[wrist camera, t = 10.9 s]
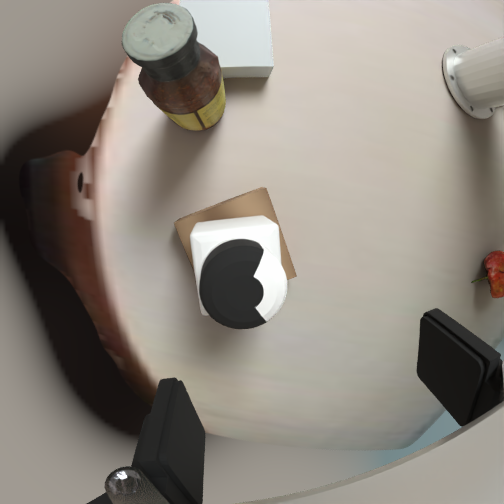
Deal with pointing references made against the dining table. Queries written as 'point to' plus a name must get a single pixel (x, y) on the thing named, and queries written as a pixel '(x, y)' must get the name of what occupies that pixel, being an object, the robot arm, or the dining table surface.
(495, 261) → the pomegranate
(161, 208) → the dining table surface
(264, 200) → the walnut block
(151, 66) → the sauce bottle
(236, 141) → the dining table surface
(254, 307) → the medicine bottle
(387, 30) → the dining table surface
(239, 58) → the grey block
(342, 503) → the robot arm
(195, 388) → the dining table surface
